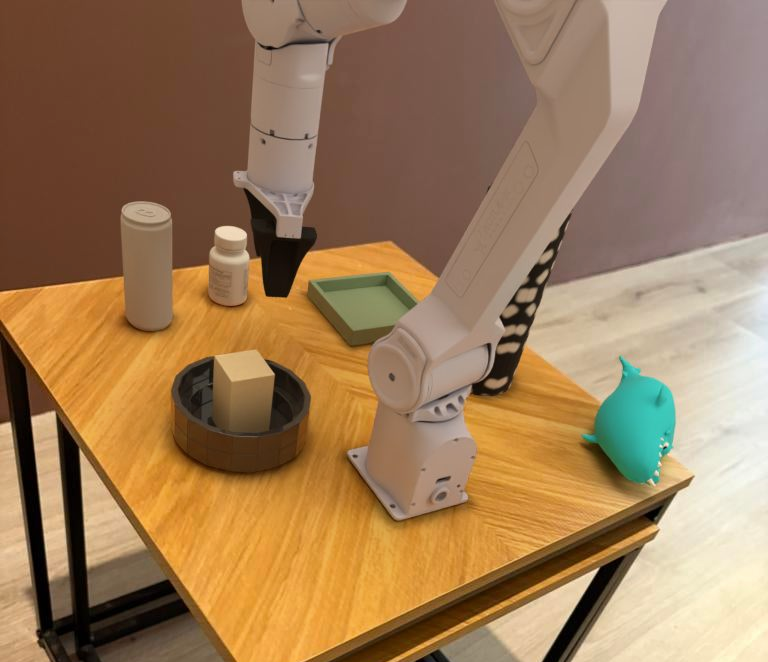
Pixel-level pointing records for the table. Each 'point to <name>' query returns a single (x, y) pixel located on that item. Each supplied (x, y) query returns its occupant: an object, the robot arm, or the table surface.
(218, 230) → the pill bottle
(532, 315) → the white-spotted black cylinder
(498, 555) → the table surface
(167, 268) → the beverage can
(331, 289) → the tray
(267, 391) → the block
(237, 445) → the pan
